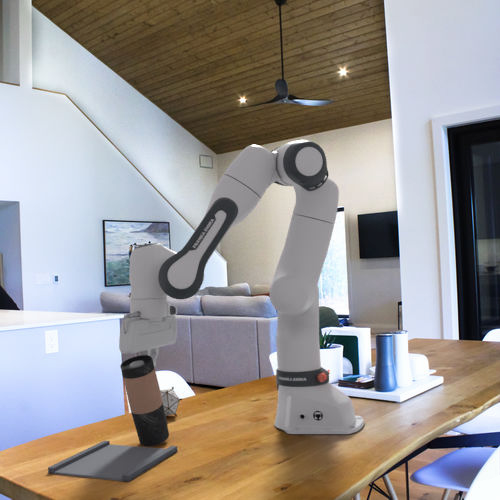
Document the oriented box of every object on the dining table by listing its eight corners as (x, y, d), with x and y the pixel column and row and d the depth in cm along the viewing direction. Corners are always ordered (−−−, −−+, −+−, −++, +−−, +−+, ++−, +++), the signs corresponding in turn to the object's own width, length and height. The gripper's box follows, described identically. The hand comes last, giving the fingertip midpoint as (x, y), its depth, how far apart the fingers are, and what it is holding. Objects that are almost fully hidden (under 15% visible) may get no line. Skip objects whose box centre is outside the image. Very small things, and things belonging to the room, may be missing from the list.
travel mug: (175, 429, 141) (158, 354, 137) (161, 447, 134) (143, 368, 130) (147, 430, 143) (129, 355, 139) (133, 447, 136) (113, 369, 132)
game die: (171, 431, 161) (174, 407, 156) (144, 420, 163) (145, 396, 157) (184, 408, 168) (188, 384, 163) (158, 398, 170) (160, 374, 165)
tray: (177, 451, 131) (177, 446, 131) (128, 481, 113) (128, 475, 113) (104, 445, 138) (104, 440, 138) (48, 473, 121) (48, 467, 121)
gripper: (134, 313, 129) (136, 376, 129) (180, 307, 148) (182, 361, 148) (111, 313, 132) (113, 374, 131) (159, 307, 151) (161, 360, 150)
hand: (150, 367), depth 140 cm, fingers closed
